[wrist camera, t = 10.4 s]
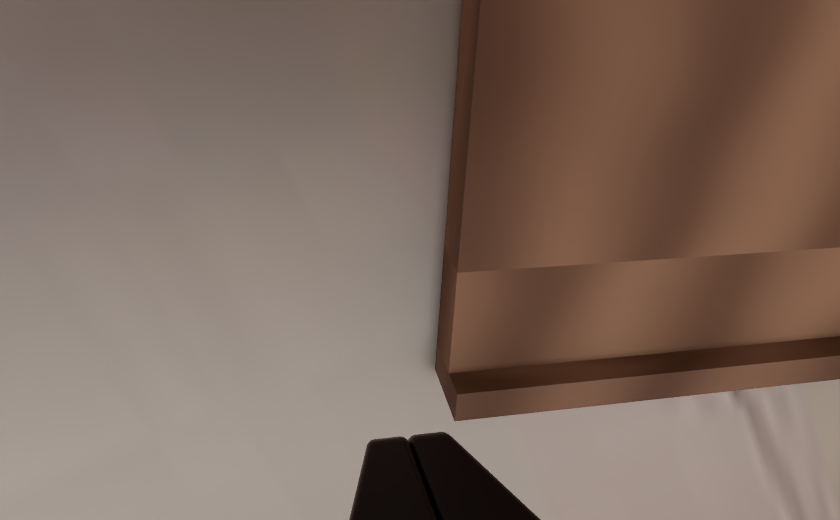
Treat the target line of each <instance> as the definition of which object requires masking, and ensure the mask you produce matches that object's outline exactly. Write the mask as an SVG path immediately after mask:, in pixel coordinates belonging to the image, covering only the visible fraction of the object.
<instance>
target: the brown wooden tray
mask: <svg viewBox="0 0 840 520" xmlns="http://www.w3.org/2000/svg"><path fill="white" fill-rule="evenodd" d="M435 370H436V373H437V376H438V378H439V381H440V384H441V386H442V389H443V391H444V394H445V397H446V399H447V402H448V405H449V407H450V410H451V413H452V415H453V418H454V420H455V421H461V420H470V419H479V418H488V417H497V416H507V415H516V414H525V413H534V412H543V411H552V410H561V409H570V408H580V407H589V406H598V405H607V404H616V403H625V402H634V401H643V400H653V399H662V398H671V397H680V396H689V395H698V394H707V393H717V392H726V391H735V390H744V389H753V388H762V387H771V386H780V385H790V384H799V383H808V382H817V381H826V380H835V379H840V0H463V5H462V19H461V32H460V46H459V59H458V72H457V86H456V99H455V113H454V126H453V139H452V153H451V166H450V180H449V193H448V207H447V220H446V233H445V247H444V260H443V274H442V287H441V300H440V314H439V327H438V341H437V354H436V367H435Z"/></svg>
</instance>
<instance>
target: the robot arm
mask: <svg viewBox="0 0 840 520" xmlns="http://www.w3.org/2000/svg"><path fill="white" fill-rule="evenodd" d="M350 520H540V519H539V518H538V517H537V516H536V515H535V514H534V513H533V512H532V511H530V510H529V509H528V508H527V507H526V506H525V505H524V504H523V503H522V502H521V501H520V500H519V499H518V498H517V497H515V496H514V495H513V494H512V493H511V492H510V491H509V490H508V489H507V488H506V487H505V486H504V485H503V484H502V483H501V482H499V481H498V480H497V479H496V478H495V477H494V476H493V475H492V474H491V473H490V472H489V471H488V470H487V469H486V468H484V467H483V466H482V465H481V464H480V463H479V462H478V461H477V460H476V459H475V458H474V457H473V456H472V455H471V454H469V453H468V452H467V451H466V450H465V449H464V448H463V447H462V446H461V445H460V444H459V443H458V442H457V441H456V440H454V439H453V438H452V437H451V436H450V435H449V434H447V433H444V432H437V433H428V434H419V435H413V436H411V437H410V438H409V439H408V440H407V439H406V438H404V437H392V438H383V439H374V440H371V441H370V442H369V443H368V445H367V448H366V452H365V456H364V460H363V465H362V469H361V473H360V477H359V482H358V486H357V490H356V494H355V498H354V503H353V507H352V511H351V515H350Z"/></svg>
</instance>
